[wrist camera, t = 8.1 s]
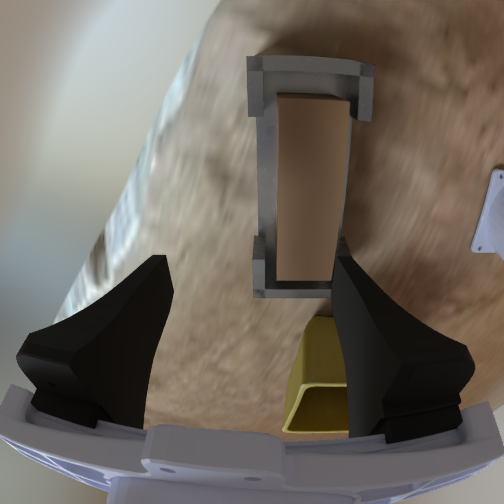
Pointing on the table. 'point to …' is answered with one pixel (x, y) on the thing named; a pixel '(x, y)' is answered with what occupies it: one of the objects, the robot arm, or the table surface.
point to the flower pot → (317, 382)
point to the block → (309, 183)
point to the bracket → (265, 110)
